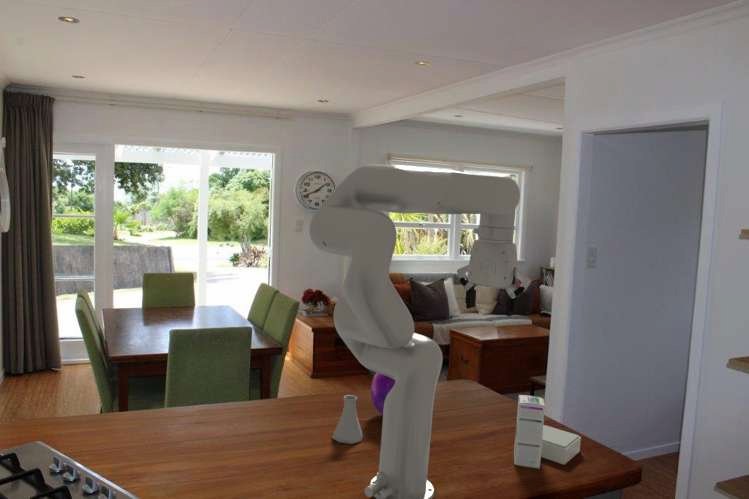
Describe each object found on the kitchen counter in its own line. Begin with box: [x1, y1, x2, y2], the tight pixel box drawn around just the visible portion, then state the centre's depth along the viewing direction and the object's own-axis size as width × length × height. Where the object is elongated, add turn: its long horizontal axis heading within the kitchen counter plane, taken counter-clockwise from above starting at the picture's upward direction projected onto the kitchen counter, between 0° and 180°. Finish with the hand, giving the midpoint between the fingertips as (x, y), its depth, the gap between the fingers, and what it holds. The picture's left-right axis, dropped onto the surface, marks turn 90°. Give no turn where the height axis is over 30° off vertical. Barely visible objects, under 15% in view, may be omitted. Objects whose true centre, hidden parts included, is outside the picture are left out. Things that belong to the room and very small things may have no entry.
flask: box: [331, 394, 364, 445], centre depth 143 cm, size 7×7×10 cm
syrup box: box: [513, 394, 546, 469], centre depth 137 cm, size 6×6×14 cm
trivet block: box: [541, 424, 582, 466], centre depth 144 cm, size 10×10×4 cm
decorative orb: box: [370, 372, 395, 416], centre depth 157 cm, size 15×15×15 cm
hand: (490, 311), depth 136 cm, fingers open, 9 cm apart
